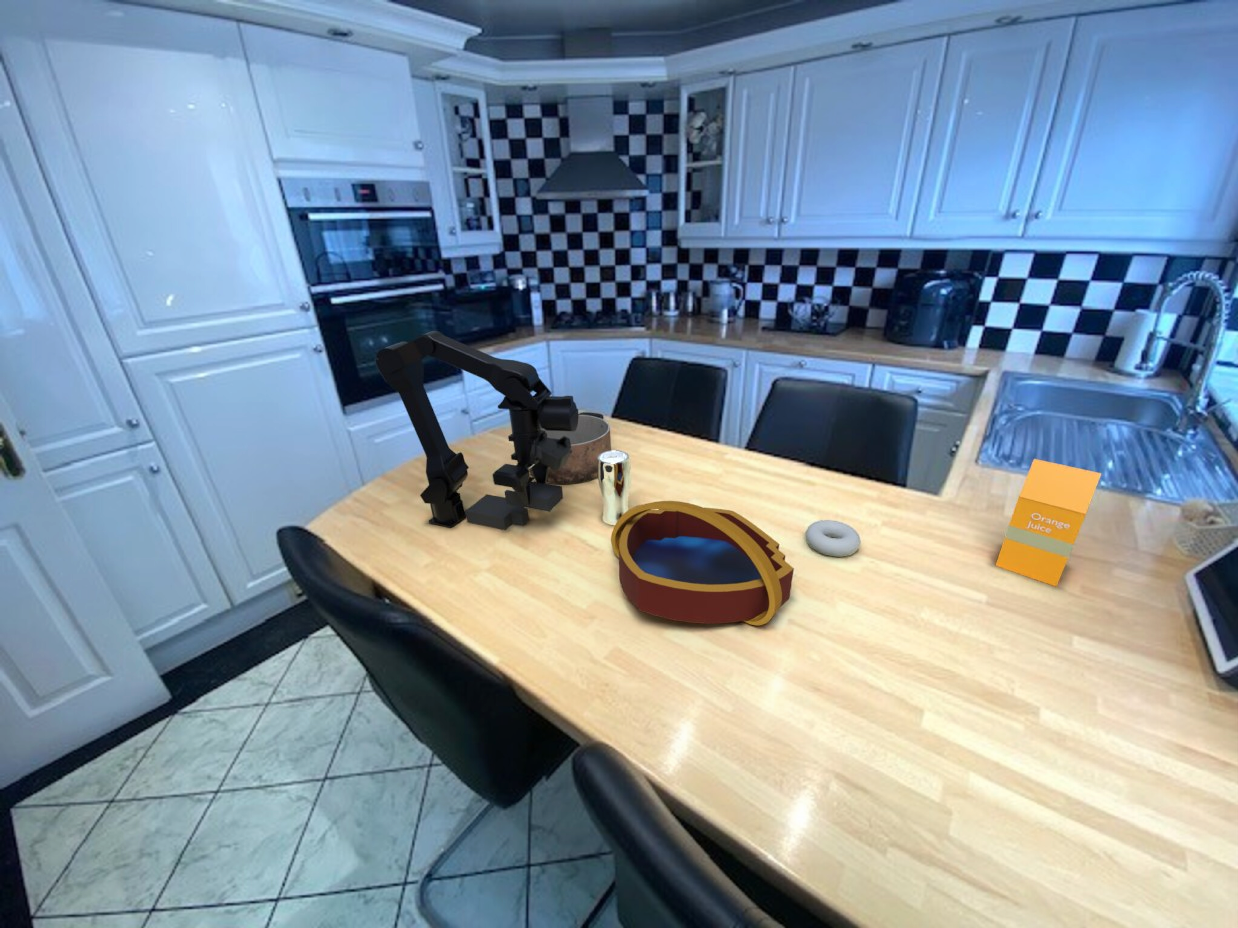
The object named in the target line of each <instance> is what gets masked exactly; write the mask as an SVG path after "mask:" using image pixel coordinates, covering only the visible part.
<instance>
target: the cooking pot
mask: <svg viewBox="0 0 1238 928" xmlns="http://www.w3.org/2000/svg"><path fill="white" fill-rule="evenodd" d="M541 430H544V431H545V432H546V433H547V438H553V439H560V438H562V437H563V436H565V437H567V438H569V439H570V444H571V450H572V453H571V454H570V455H569V456H568V460H567V463H566V464H565V465H564V466H562V467H561V469H560V470H557V471H556V470H553V469H551V468H550V469H549V473H548V478H547V483H546V484H551V485H576V484H581V483H587V482H589V481H593V480H596V479H598V455H599V454H601V453H603V452H605V451H611V450H612V443H611V442H612V440H611V426H610V423H609V422H608V421H607V420H605V419H604V415H603V414H602V413H598V412H591V411H583V412H579V413H578V425H577V428H576V430H575V431H548V430H545V429H543V428H541ZM529 474H530V475H532V477H534V474H533V471H532V468H530V469H529Z"/></svg>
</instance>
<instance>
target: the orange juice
mask: <svg viewBox="0 0 1238 928" xmlns="http://www.w3.org/2000/svg"><path fill="white" fill-rule="evenodd" d="M1028 470H1029V471H1028V473H1027V475H1026V477H1025V480H1024V483H1023V485H1022V488H1021V491H1020V492H1019V494H1018V497H1017V500H1016V504H1015V507H1014V510H1013V513H1012V516H1011V519H1010V522H1009V524H1008V526H1007V530H1006V532H1005V535H1004V539H1003V541H1002V545H1001V548H1000V551H999V555H998V557H997V560H996V562H995V567H998V568H1001V569H1004V570H1007V571H1009V572H1012V573H1016V574H1018V575H1021V576H1024V577H1027V578H1030V579H1033V580H1036V581H1039V582H1040V583H1041V582H1042V583H1045V584H1047V585H1050V586H1054V587H1057V586H1058V583H1059V582H1060V579H1061V576H1062V574H1063V572H1064V569H1065V566H1066V565H1067V562H1068V560H1069V558H1070V556H1071V553H1072V550H1073V548H1074V546H1075V543H1076V540H1077V538H1078V535H1079V534H1080V532H1081V528H1082V525H1083V524H1084V521H1085V518H1086V516H1087V513H1088V510H1089V508H1090V504H1091V501H1092V499H1093V496H1094V495H1095V492H1096V489H1097V486H1098V484H1099V482H1100V479H1101V476H1102V473H1101V472H1098V471H1097V472H1096V471H1093V470H1087V469H1083V468H1078V467H1074V466H1069V465H1065V464H1060V463H1056V462H1051V461H1047V460H1042V459H1037V458H1034V459H1033V460H1032V463H1031V465H1030V468H1029V469H1028Z"/></svg>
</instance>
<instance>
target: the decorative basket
mask: <svg viewBox="0 0 1238 928" xmlns="http://www.w3.org/2000/svg"><path fill="white" fill-rule="evenodd" d="M610 543H611V547H612V550H613V552H614V554H615V556H616V557H617V558H618V576H619V583H620V586H621V588H622V590H623V593H624V594H625V596H626V598H628V600H629V602H630V603H631V604H632V605H633V606H634V607H635V608H636V609H637V610H638V611H639V612H640V611H641V612H644V613H647V614H649V615H652V616H656V617H659V618H664V619H668V620H673V621H680V622H686V623H693V624H727V623H736V622H744V623H746V624H749V625H751V626H752V625H753V626H762V625H766V624H768V623H769V622H770V621H771V619H772V618H773V617H774V616H775V615H776V613H777V612H778V611H779V609H780V607H781V606H782V605H784V604H785V603H786V602H787V601H788V600H789V599H790V596H791V590H792V583H793V577H794V571H795V568H794V567H793V566H792V565H791V564H789V563H788V562H787V561H786V554H785V553H784V552H782V551H780V543H779V542H778V541H776V540H775V539H774V538H773V537H772V536H770V535H769V534H767V533H766V532H765V531H764V530H762V529H761V528H759V527H758V526H757V525H756V524H754V523H753V522H751V521H750V520H748V519H747V518H746V517H744V516H743V515H741V514H739V513H738V512H736V511H734V510H731V509H725V508H724V509H723V508H716V507H715V508H714V507H705V506H701V505H697V504H693V503H690V502H684V501H680V500H679V501H678V500H677V501H676V500H659V501H652V502H648V503H644V504H639V505H636V506H634V507H632V508H629V510H628V511H627V512H625V513H624V514H623V515H622V516H621V517H620V519H619V520H618V521H617V523H616V525H614V527H613V529H612V531H611V537H610Z"/></svg>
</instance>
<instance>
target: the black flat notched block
mask: <svg viewBox="0 0 1238 928" xmlns="http://www.w3.org/2000/svg"><path fill="white" fill-rule="evenodd" d="M503 493H504V497H505V500H506V504H509V505H514V506H520V507H524V508H528V509H531V510H536V511H541V512H548V513H551V511H553V509H555V507H557V505H558V504H559V503H561V501H562V500H563V499H564V493H563V486H562V485H558V484H552V483H546V484H545V483H539V482H536V481H534V480H533V481H532V482H531V483H530V504H529V505H526V504H524V503H523V501H522V500H521V499H520V497H519V496H518V495H517V493H516V492H515V491H514V490H510V489H506V490H504V491H503Z"/></svg>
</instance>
